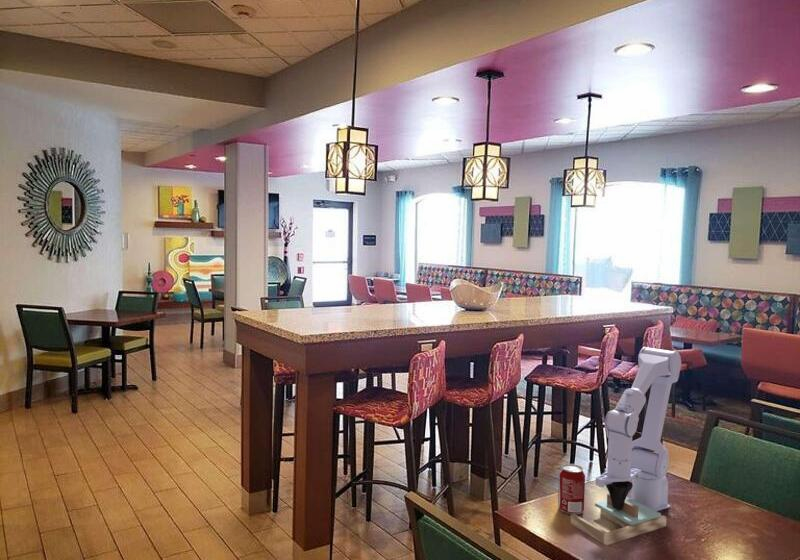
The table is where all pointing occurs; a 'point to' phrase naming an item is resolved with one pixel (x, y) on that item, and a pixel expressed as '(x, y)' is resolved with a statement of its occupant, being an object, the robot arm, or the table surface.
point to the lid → (629, 511)
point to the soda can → (571, 489)
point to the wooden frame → (620, 533)
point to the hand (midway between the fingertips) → (617, 508)
